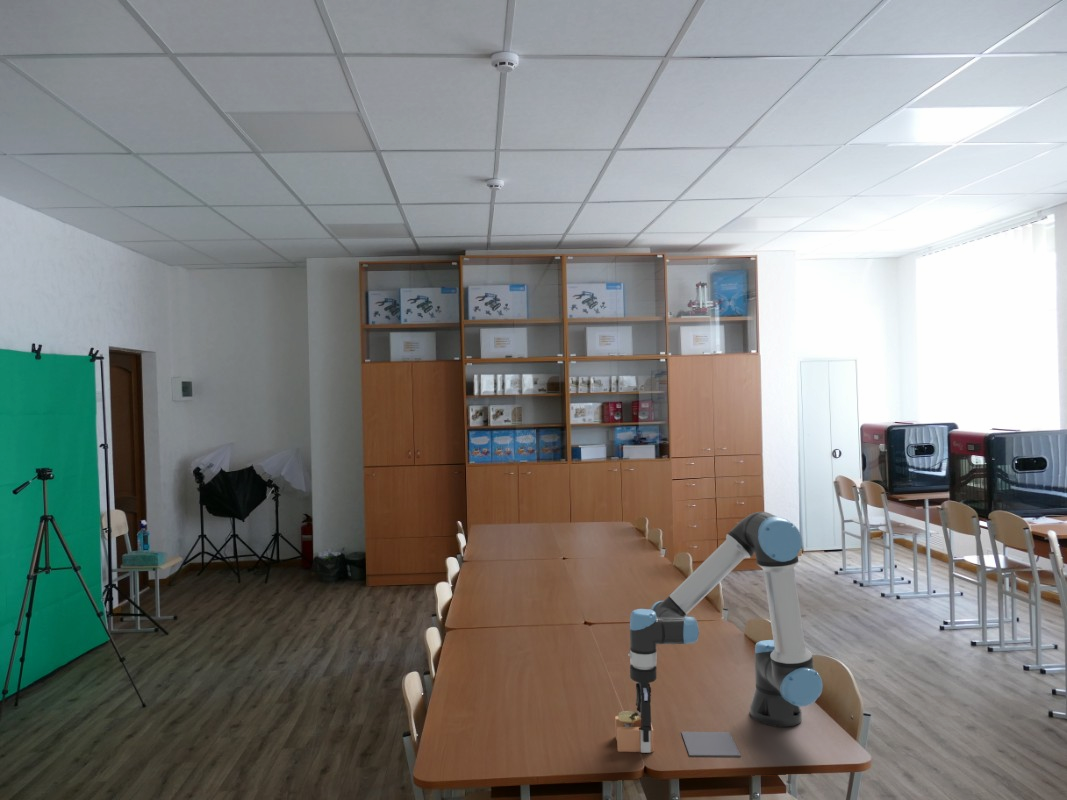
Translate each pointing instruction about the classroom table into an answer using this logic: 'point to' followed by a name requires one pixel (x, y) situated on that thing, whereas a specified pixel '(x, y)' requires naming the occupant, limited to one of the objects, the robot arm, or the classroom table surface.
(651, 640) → the robot arm
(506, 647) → the classroom table surface
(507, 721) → the classroom table surface
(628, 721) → the knob post
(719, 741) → the mat
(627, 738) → the c link
